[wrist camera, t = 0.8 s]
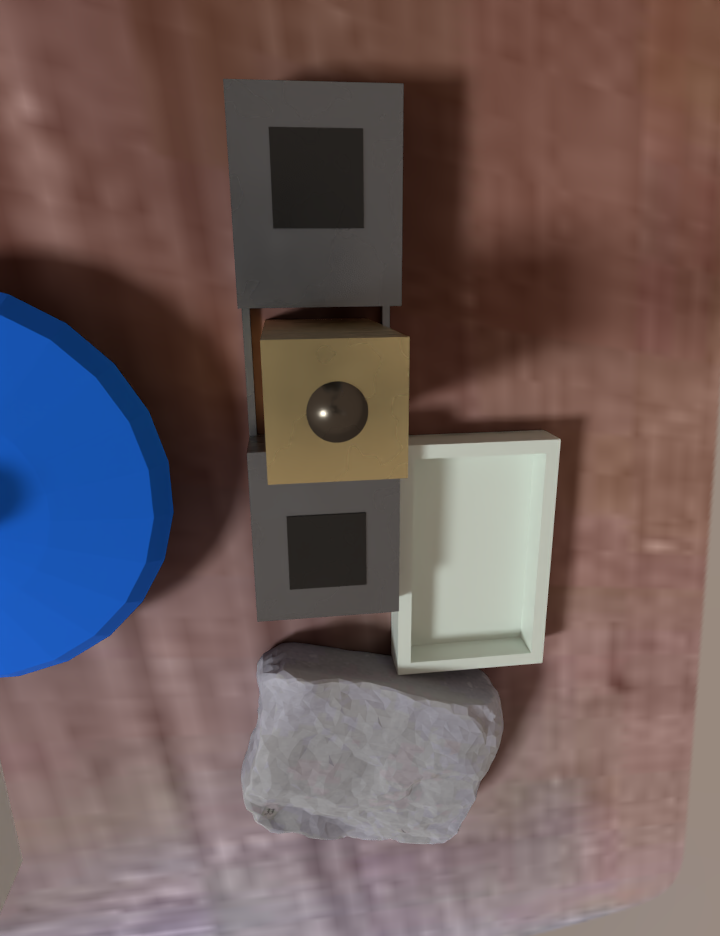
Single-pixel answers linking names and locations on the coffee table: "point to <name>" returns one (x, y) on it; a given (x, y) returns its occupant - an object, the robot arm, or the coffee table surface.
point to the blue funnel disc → (71, 493)
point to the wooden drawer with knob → (334, 400)
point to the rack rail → (317, 285)
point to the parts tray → (475, 550)
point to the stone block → (367, 746)
